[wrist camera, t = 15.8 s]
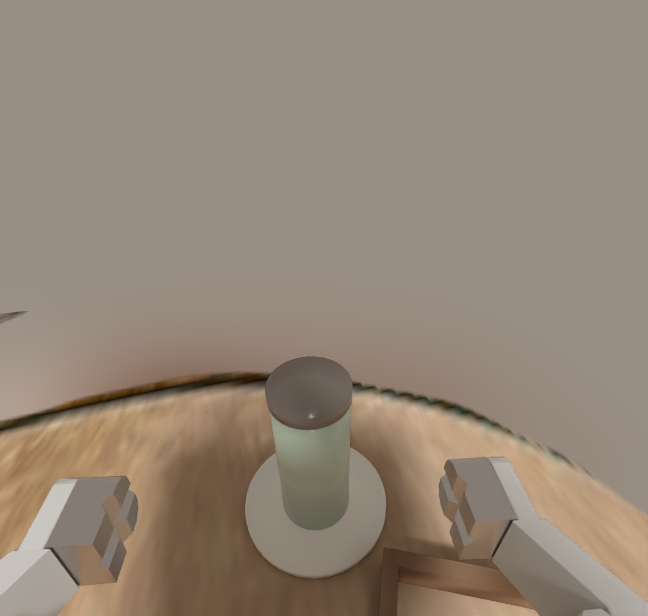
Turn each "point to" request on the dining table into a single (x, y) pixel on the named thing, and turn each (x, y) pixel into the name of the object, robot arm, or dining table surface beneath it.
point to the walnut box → (442, 579)
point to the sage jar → (312, 438)
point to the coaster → (316, 545)
